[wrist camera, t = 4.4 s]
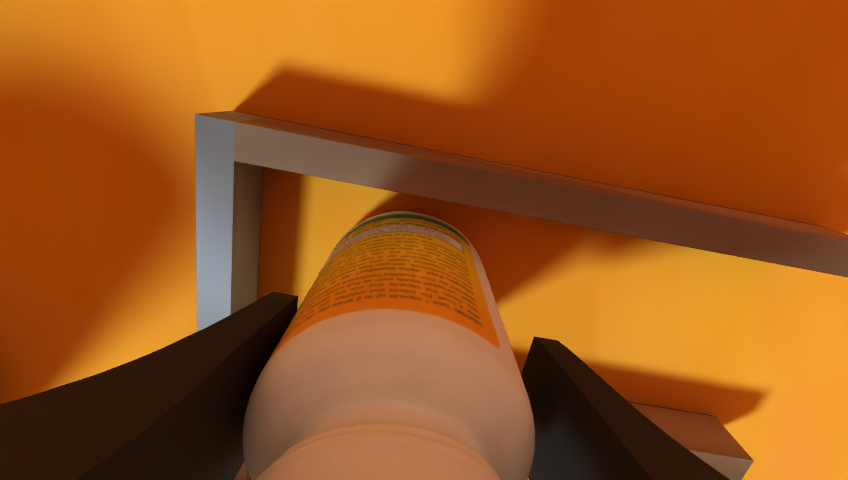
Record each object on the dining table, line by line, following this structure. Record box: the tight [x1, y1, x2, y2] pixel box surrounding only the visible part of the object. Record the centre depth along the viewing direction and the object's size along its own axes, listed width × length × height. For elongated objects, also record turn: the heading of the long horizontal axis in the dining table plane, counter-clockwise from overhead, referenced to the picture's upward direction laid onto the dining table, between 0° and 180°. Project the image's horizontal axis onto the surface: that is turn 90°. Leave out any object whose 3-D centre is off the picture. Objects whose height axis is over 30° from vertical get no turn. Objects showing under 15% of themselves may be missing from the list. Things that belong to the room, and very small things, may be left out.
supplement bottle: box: [243, 211, 535, 480], centre depth 9 cm, size 5×5×10 cm
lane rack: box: [195, 111, 848, 480], centre depth 14 cm, size 17×19×2 cm
